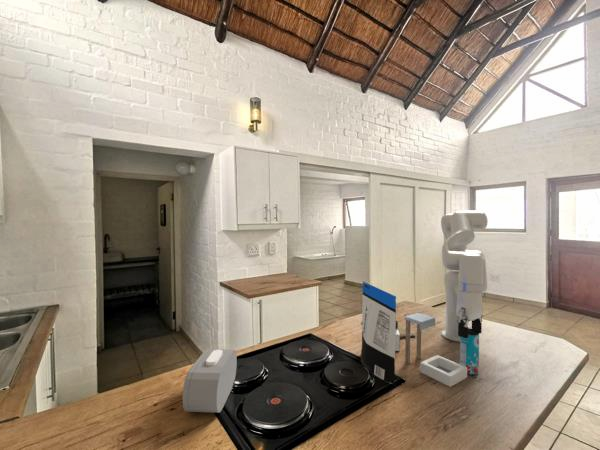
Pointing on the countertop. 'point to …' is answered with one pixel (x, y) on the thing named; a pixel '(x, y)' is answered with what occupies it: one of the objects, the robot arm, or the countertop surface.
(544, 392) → the countertop surface
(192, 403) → the alarm clock
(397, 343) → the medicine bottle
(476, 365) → the beverage can
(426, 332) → the countertop surface
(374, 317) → the protein powder
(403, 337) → the dish towel
